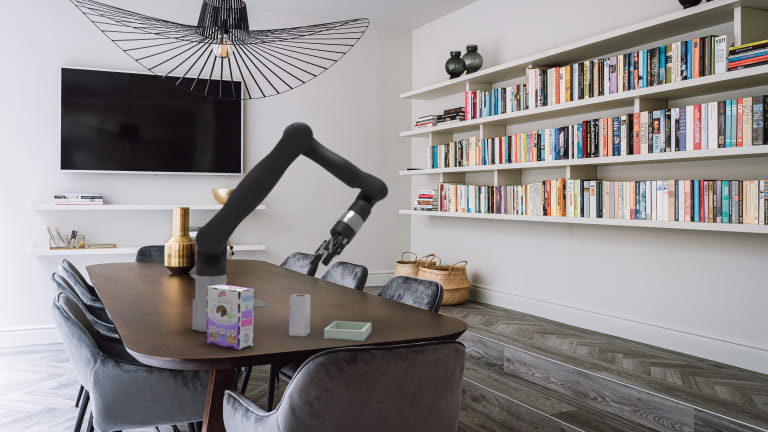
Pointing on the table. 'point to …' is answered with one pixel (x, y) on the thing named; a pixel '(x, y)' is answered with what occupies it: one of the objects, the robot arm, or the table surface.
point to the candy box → (230, 316)
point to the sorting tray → (347, 331)
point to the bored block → (299, 315)
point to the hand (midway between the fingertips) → (317, 265)
